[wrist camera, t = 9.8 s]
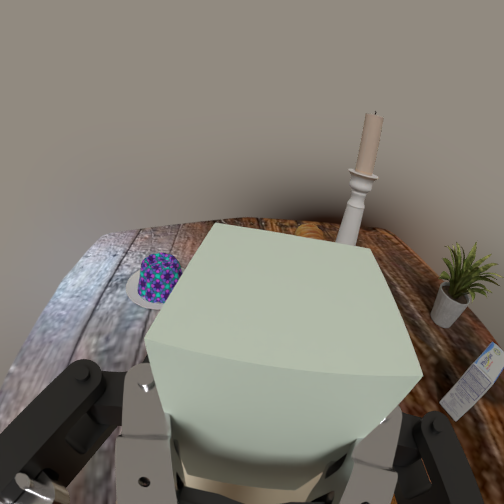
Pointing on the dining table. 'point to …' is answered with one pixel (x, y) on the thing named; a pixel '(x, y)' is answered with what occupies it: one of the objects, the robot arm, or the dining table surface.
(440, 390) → the dining table surface
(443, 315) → the house plant
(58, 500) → the robot arm
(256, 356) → the pale green block
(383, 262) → the dining table surface
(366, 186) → the candlestick
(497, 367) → the medicine box
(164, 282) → the pudding
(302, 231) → the pastry
